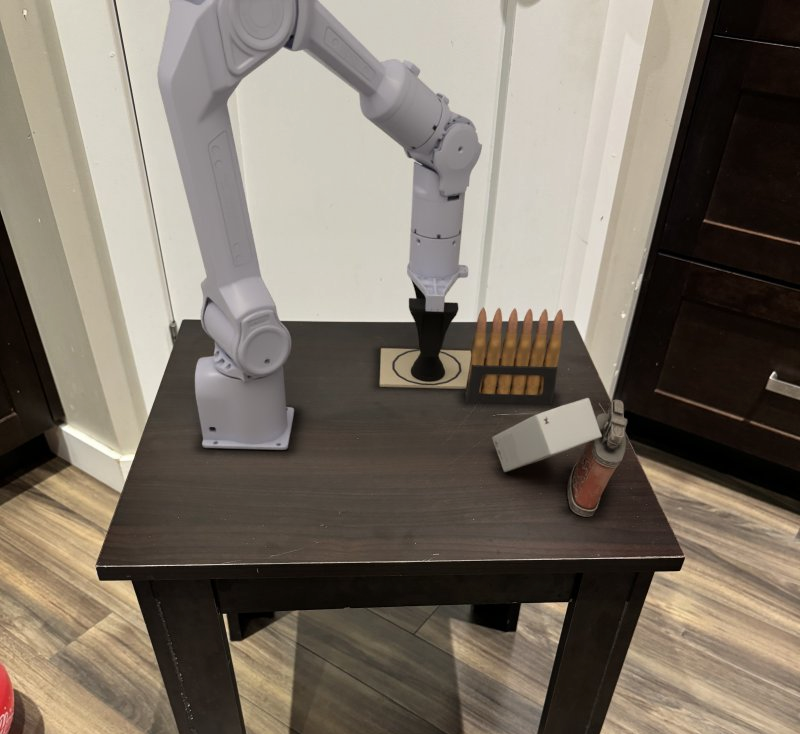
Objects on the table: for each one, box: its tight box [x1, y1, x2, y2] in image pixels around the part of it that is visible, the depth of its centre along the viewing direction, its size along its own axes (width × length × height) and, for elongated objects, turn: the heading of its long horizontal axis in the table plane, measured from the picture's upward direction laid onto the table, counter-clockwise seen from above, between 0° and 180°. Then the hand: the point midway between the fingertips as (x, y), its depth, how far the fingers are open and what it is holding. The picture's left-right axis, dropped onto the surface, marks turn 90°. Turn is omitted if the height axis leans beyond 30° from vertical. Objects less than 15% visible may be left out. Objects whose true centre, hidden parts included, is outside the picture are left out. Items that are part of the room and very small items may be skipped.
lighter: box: [567, 399, 628, 518], centre depth 78 cm, size 8×3×10 cm, turn 168°
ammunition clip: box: [464, 307, 564, 405], centre depth 91 cm, size 11×2×12 cm, turn 91°
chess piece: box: [411, 353, 445, 382], centre depth 95 cm, size 4×4×10 cm
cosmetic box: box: [491, 397, 602, 473], centre depth 79 cm, size 6×4×12 cm
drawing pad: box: [379, 347, 472, 390], centre depth 99 cm, size 12×9×1 cm
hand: (428, 339), depth 95 cm, fingers open, 7 cm apart
